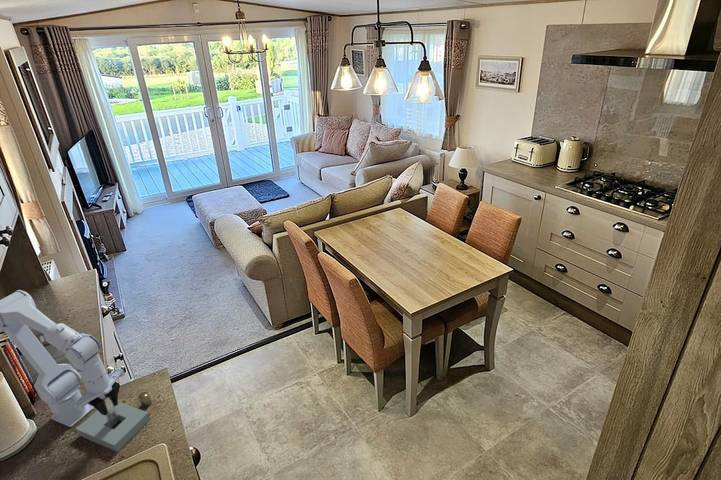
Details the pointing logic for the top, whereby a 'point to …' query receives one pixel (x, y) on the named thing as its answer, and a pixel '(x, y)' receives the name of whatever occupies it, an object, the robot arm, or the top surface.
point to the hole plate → (101, 430)
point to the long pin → (109, 407)
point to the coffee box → (53, 351)
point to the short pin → (145, 399)
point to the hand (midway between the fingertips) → (109, 409)
